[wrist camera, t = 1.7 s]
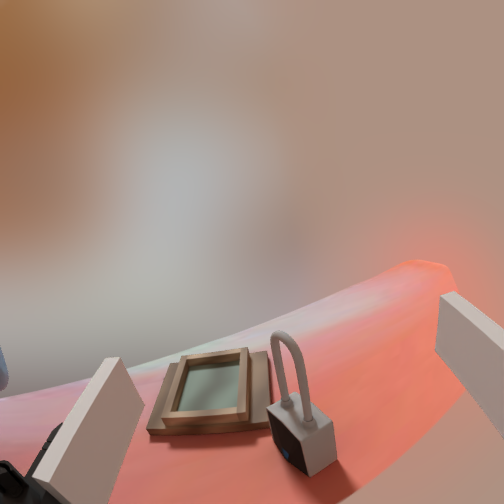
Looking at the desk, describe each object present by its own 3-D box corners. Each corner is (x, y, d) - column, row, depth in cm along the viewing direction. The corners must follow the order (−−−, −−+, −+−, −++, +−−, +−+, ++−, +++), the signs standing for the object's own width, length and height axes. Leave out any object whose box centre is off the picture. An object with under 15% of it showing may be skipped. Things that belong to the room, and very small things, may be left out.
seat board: (149, 434, 30) (140, 420, 30) (172, 369, 44) (167, 355, 43) (272, 427, 30) (268, 412, 29) (268, 357, 43) (264, 342, 42)
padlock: (269, 441, 28) (237, 328, 23) (301, 423, 29) (281, 308, 25) (306, 480, 22) (284, 366, 18) (340, 456, 23) (335, 337, 19)
